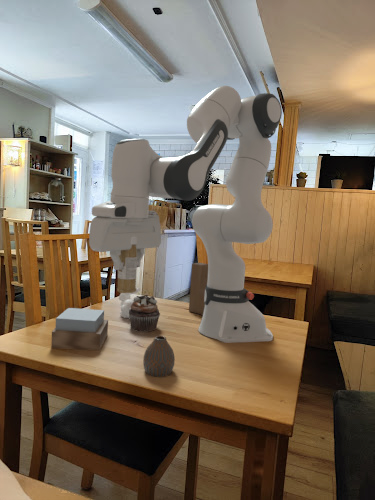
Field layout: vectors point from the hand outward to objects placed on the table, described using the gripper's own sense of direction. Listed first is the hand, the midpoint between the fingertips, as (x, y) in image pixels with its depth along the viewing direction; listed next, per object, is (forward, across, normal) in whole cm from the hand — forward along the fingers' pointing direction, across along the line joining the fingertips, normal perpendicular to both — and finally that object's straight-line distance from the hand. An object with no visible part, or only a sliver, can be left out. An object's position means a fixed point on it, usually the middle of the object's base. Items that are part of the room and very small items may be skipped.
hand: (127, 268), depth 87 cm
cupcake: (+23, -20, -12) cm, 33 cm away
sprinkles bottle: (+6, 0, 0) cm, 6 cm away
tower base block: (+23, +1, -16) cm, 28 cm away
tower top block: (+18, 0, -16) cm, 24 cm away
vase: (+23, +1, +12) cm, 26 cm away
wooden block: (+23, -49, -10) cm, 55 cm away
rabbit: (+23, -26, -24) cm, 42 cm away
